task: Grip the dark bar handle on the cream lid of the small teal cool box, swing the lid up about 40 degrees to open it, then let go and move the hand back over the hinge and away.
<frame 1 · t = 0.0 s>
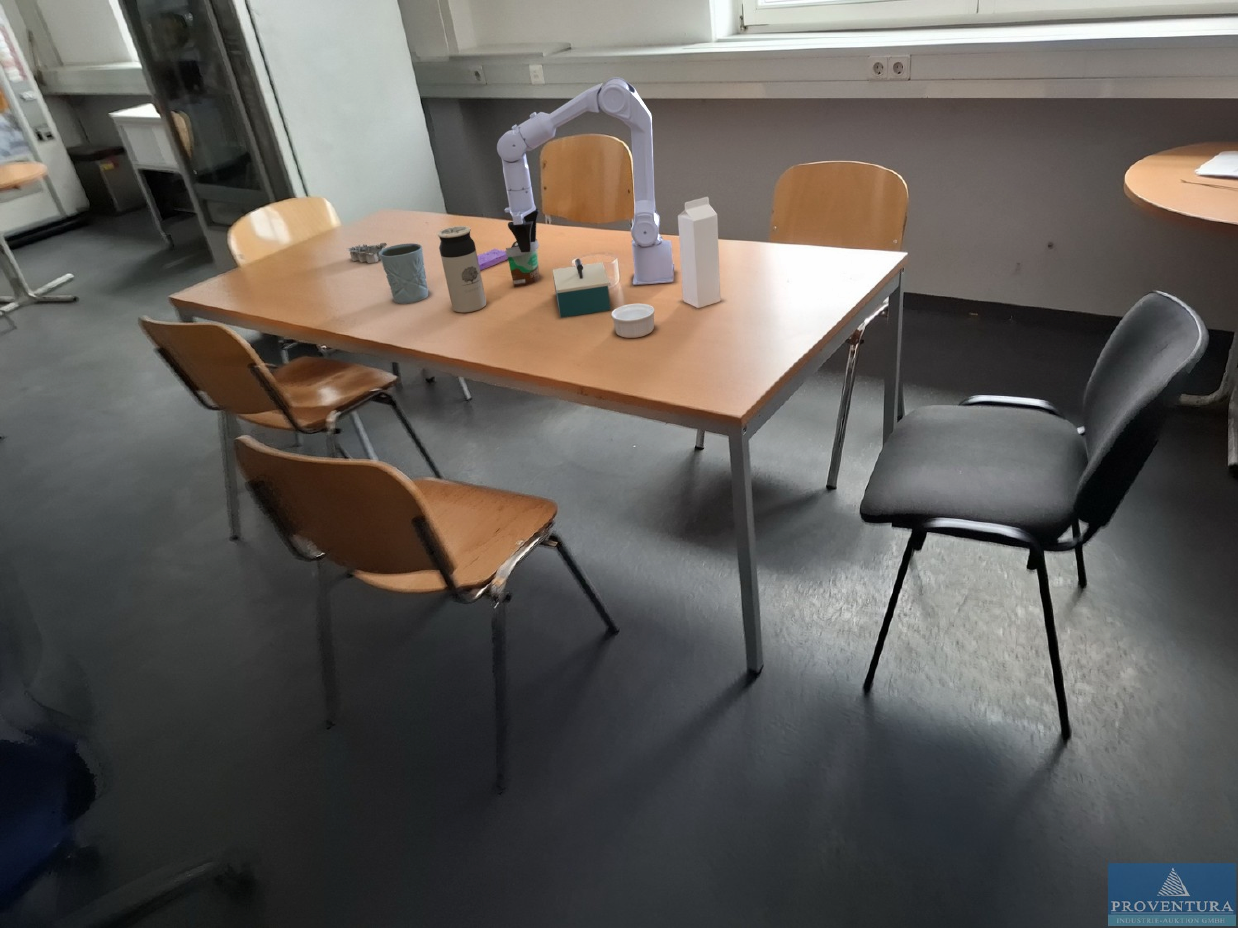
hand: (528, 246, 193), 10 cm above the table, tool pointing down, fingers open, 7 cm apart
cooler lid: (579, 270, 183), point 8 cm above the table, hinge at 0.0°
cool box: (582, 302, 186), on the table
egg carton: (369, 259, 234), on the table
milk: (701, 302, 180), on the table
blue embossed cup: (412, 297, 202), on the table
ramekin: (634, 331, 169), on the table
sponge: (486, 264, 219), on the table
food container: (531, 280, 204), on the table
travel mug: (470, 308, 192), on the table
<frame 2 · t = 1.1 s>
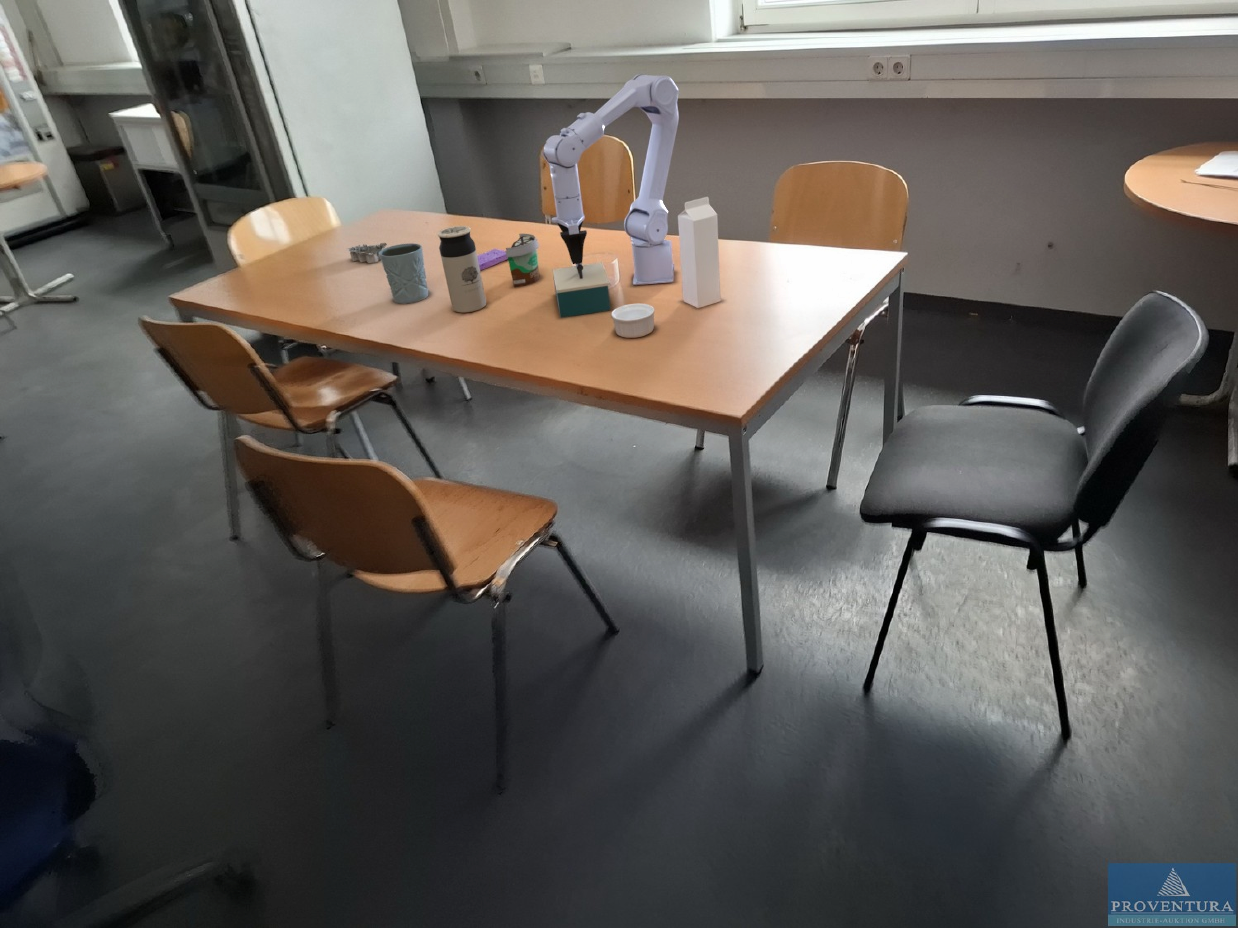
hand: (575, 258, 182), 10 cm above the table, tool pointing down, fingers open, 7 cm apart
nothing on the table moved.
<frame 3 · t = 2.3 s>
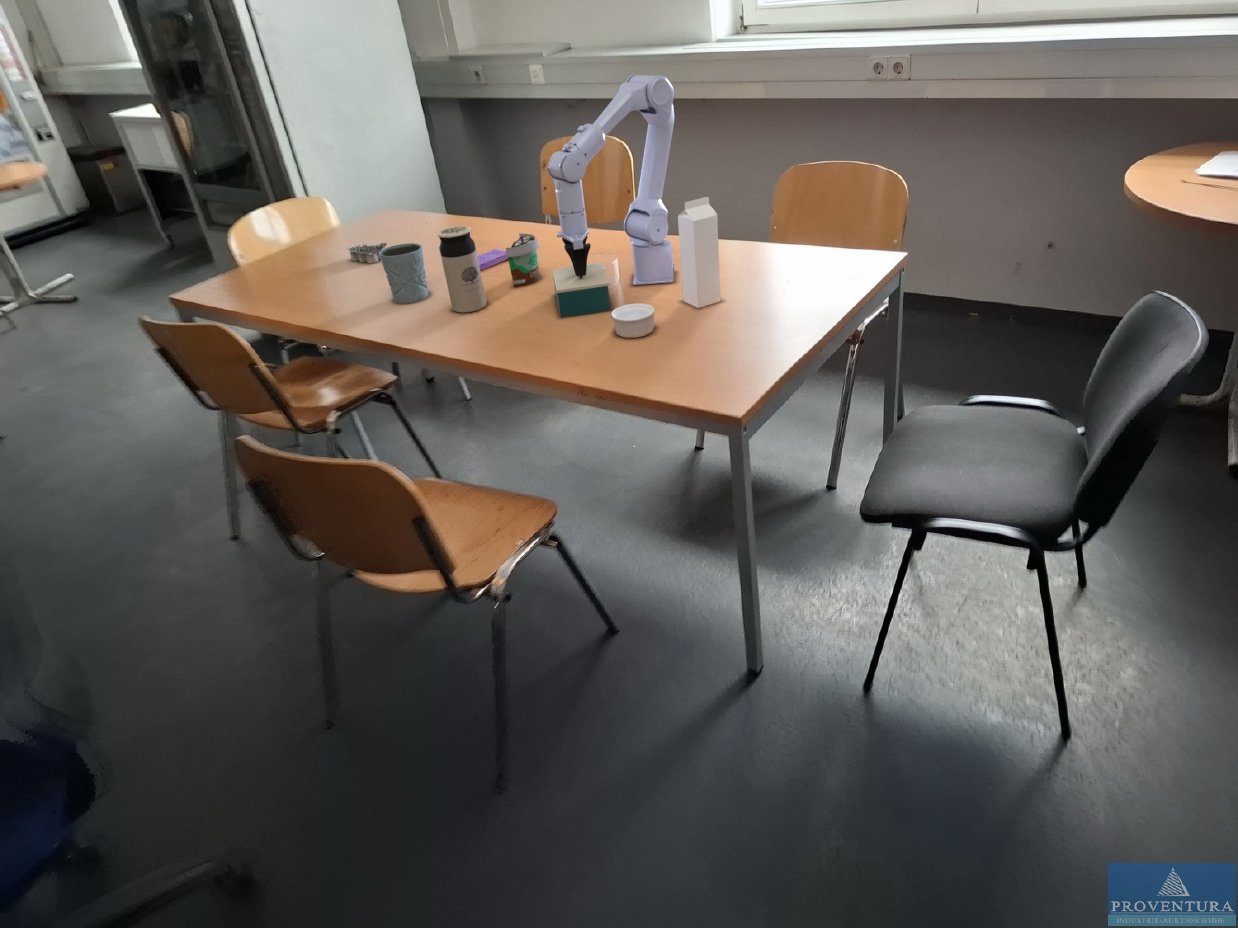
hand: (579, 272, 183), 7 cm above the table, tool pointing down, fingers closed on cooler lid, 4 cm apart
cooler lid: (579, 270, 183), point 8 cm above the table, hinge at 0.0°, touching gripper
everything else where it was.
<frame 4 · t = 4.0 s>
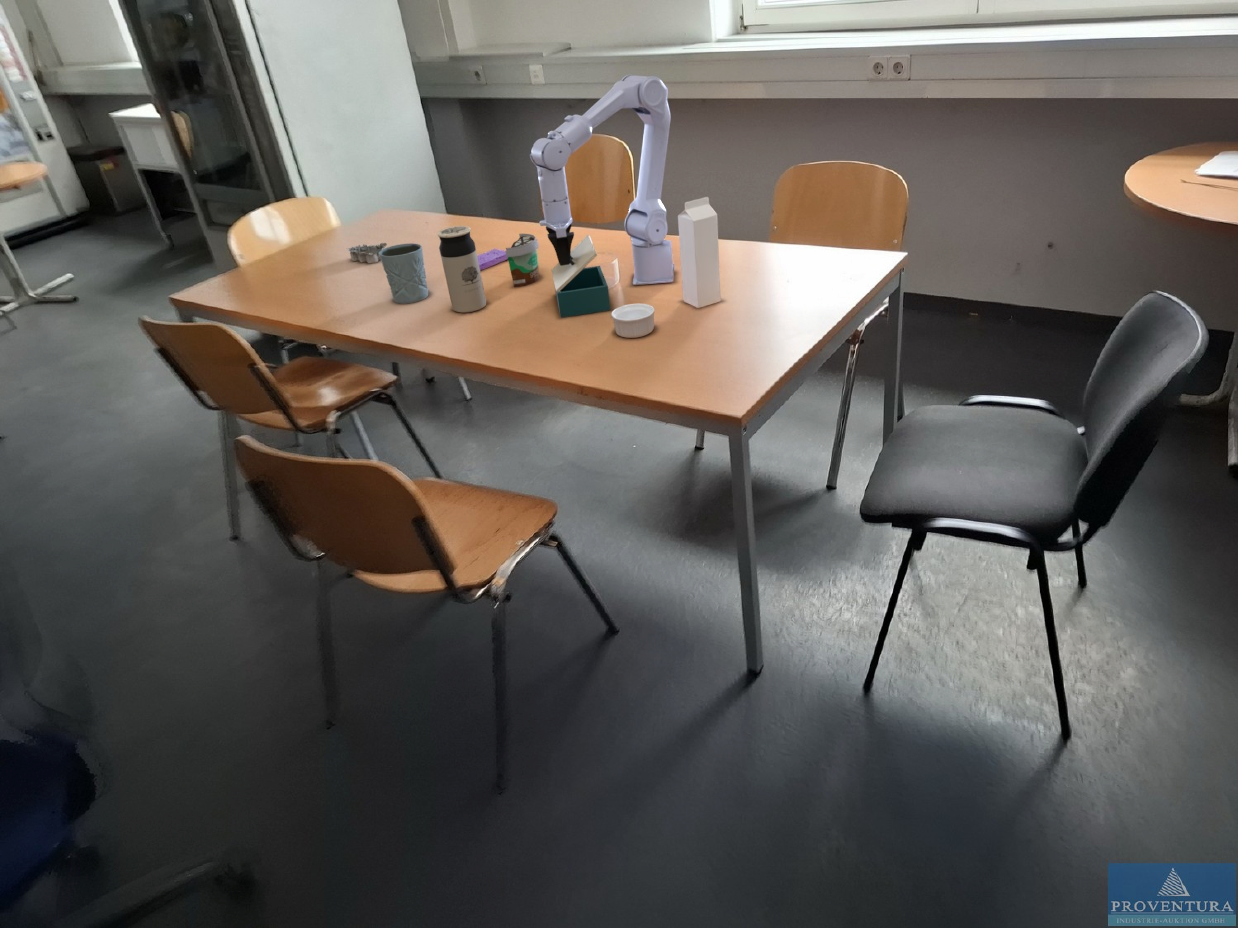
hand: (564, 261, 181), 10 cm above the table, tool pointing down, fingers closed on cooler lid, 5 cm apart
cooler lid: (568, 257, 181), point 11 cm above the table, hinge at 36.1°, touching gripper
everything else where it was.
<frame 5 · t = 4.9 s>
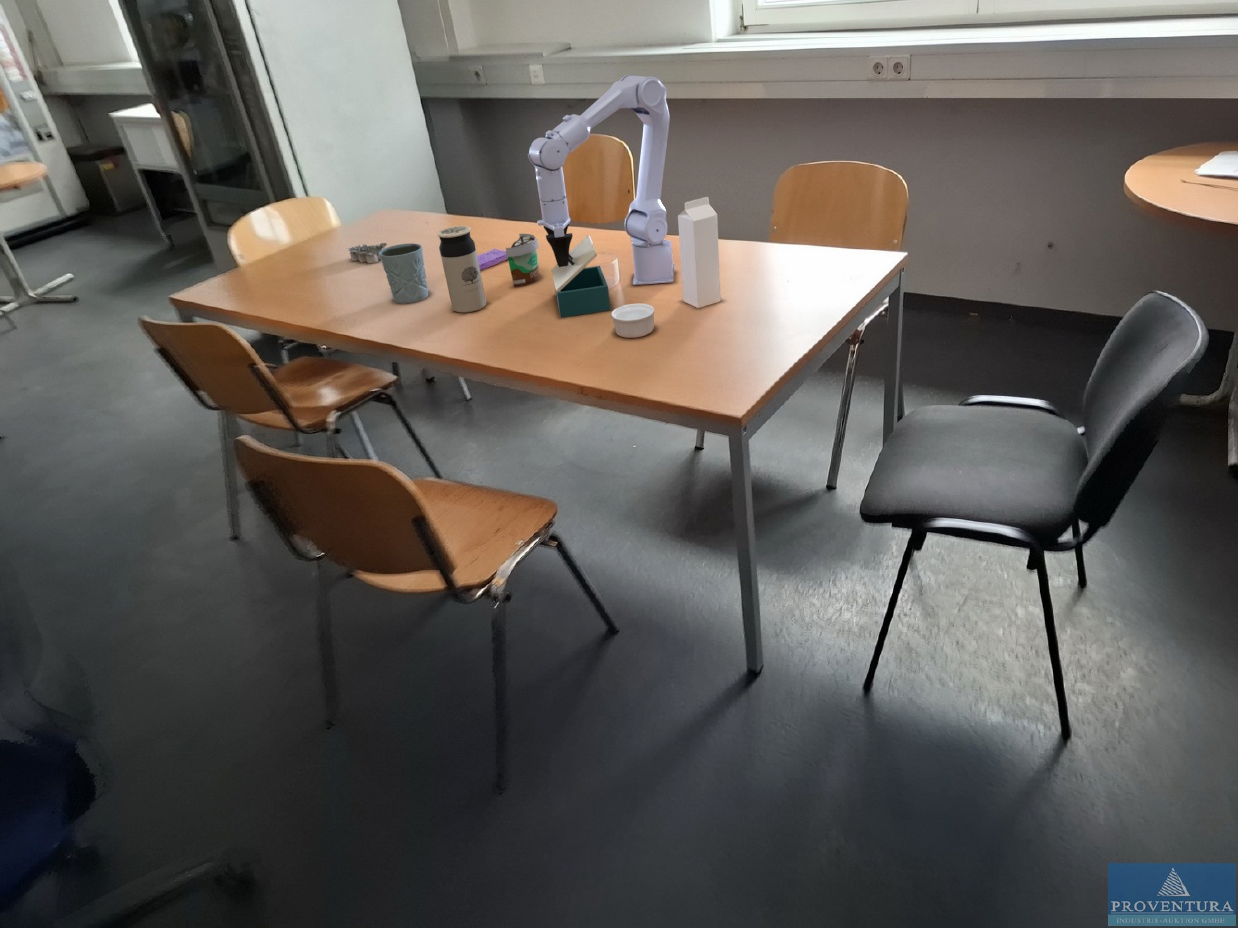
hand: (561, 260, 181), 10 cm above the table, tool pointing down, fingers open, 7 cm apart
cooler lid: (568, 257, 181), point 11 cm above the table, hinge at 36.0°
everything else where it was.
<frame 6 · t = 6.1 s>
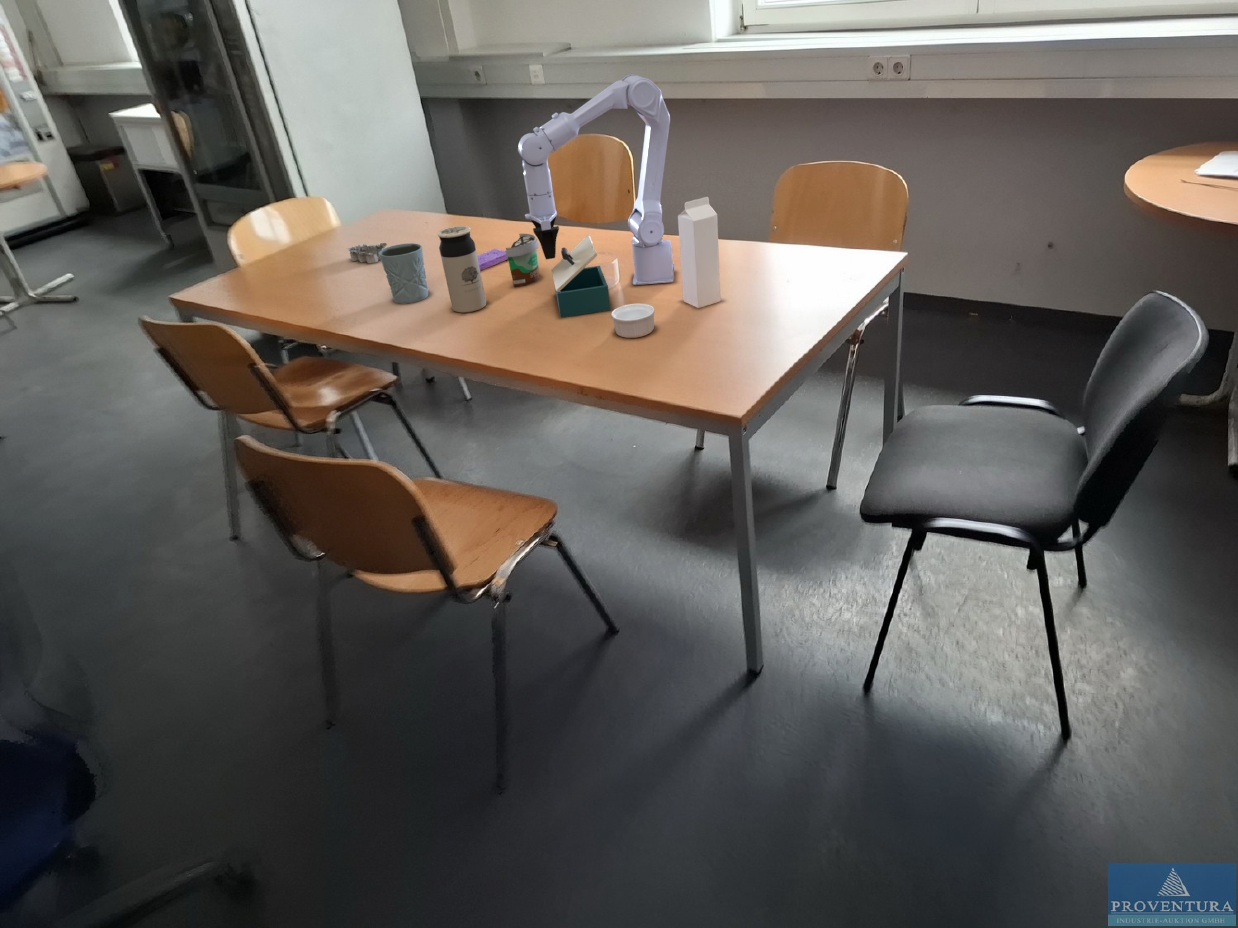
hand: (549, 253, 186), 10 cm above the table, tool pointing down, fingers open, 7 cm apart
nothing on the table moved.
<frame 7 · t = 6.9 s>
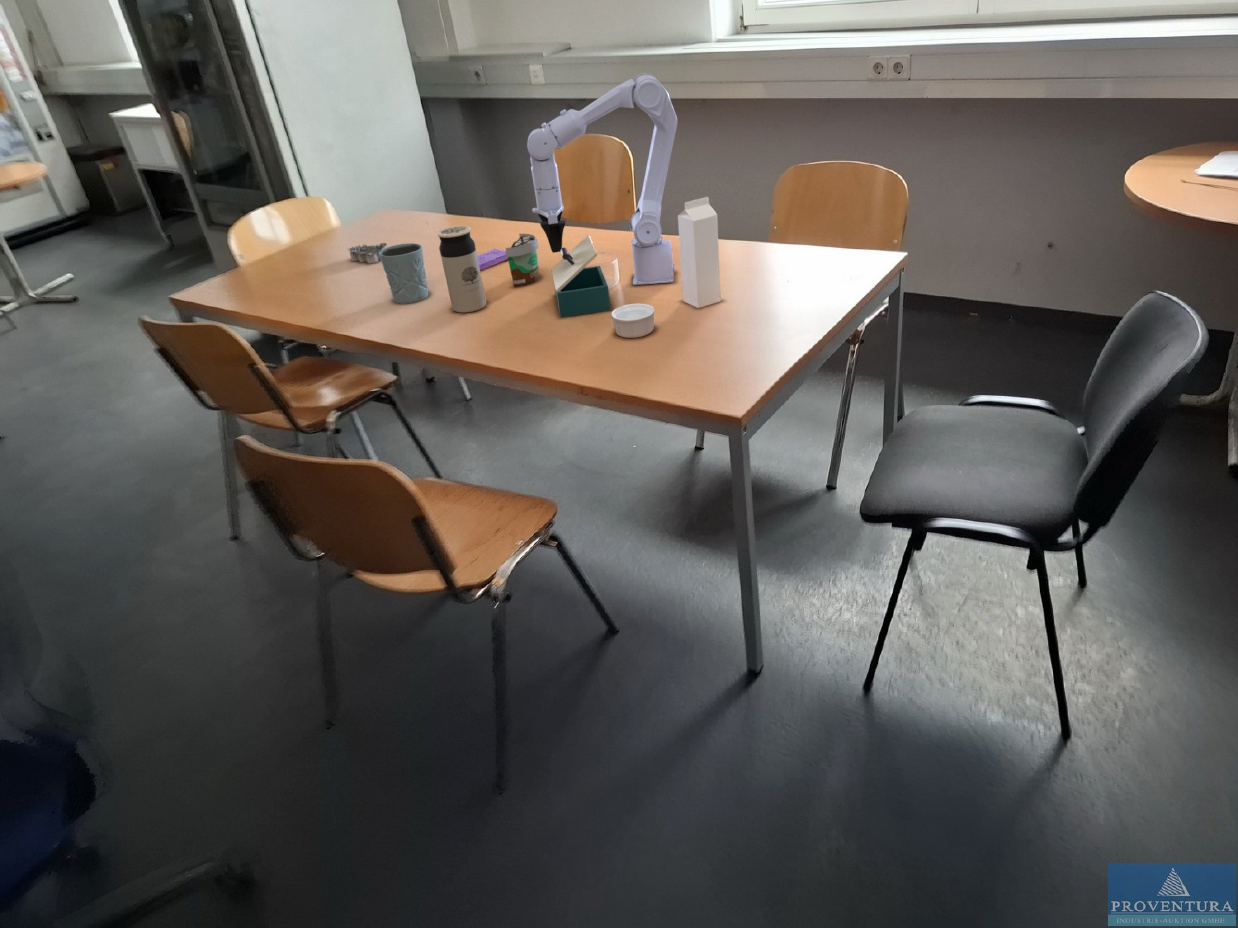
hand: (555, 247, 190), 10 cm above the table, tool pointing down, fingers open, 7 cm apart
nothing on the table moved.
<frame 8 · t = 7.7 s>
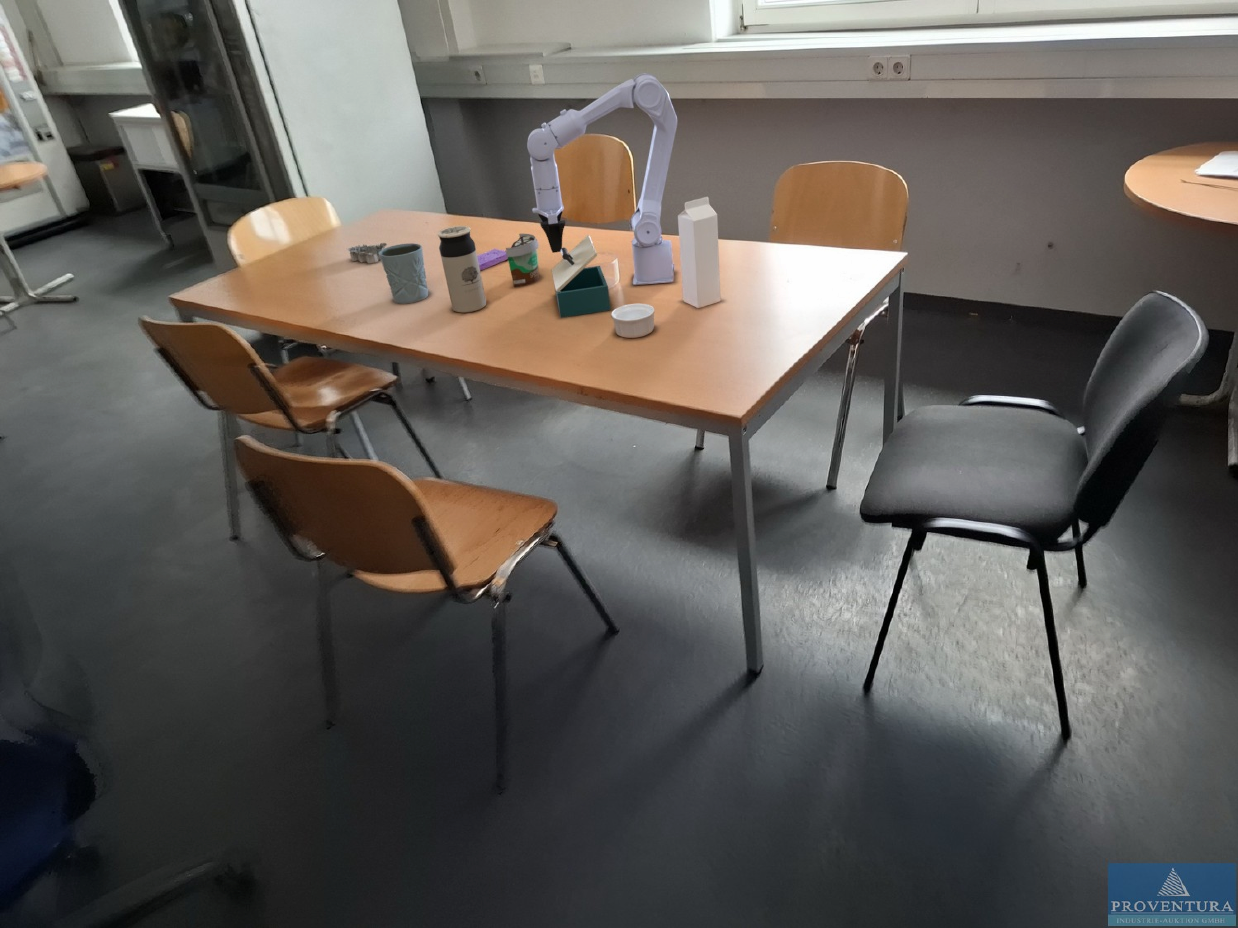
hand: (555, 247, 190), 10 cm above the table, tool pointing down, fingers open, 7 cm apart
nothing on the table moved.
at the end: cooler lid at +36° (first picture: +0°); the gripper is holding nothing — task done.
